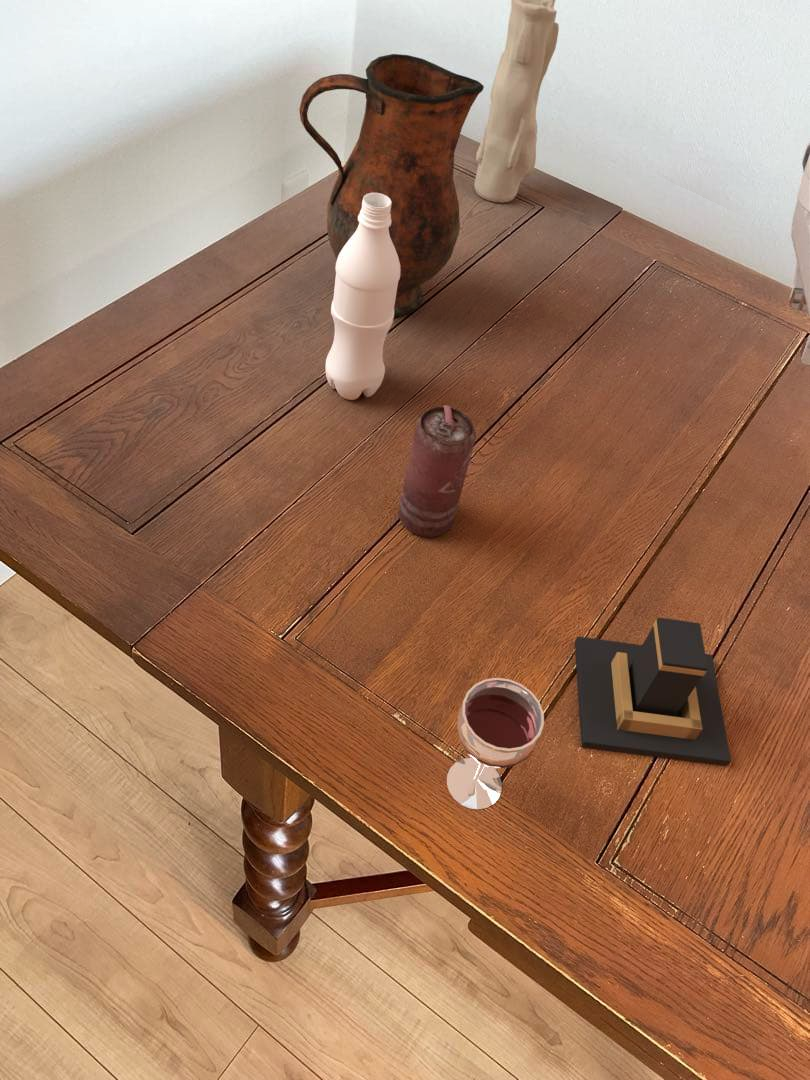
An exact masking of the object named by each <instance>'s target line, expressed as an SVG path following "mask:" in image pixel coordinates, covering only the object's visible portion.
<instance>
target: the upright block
mask: <svg viewBox="0 0 810 1080" xmlns="http://www.w3.org/2000/svg"><path fill="white" fill-rule="evenodd" d="M702 632H703V631H702V625H701V623H700V622H694V621H686V620H679V619H673V618H665V617H657V618H656V619H655V620H654V622H653V624H652V627H651V628H650V630H649V633H648V634H647V636H646V638H645V639H644V641H643V643H642V644H641V645H642V646H641V648H640V650H639V652H638V653H637V655H636V657H635V659H634V660H633V662H632V664H631V666H630V667H629V678H630V688H631V697H632V707H633V711H636V712H643V713H651V714H658V715H666V716H673V717H675V716H676V714H677V713H678V711H679V710H680V709H681V707H682V706H683V704H684V703H685V701H686V700H687V698H688V697H689V695H690V694H691V692H692V691H693V689H694V688H695V687H696V685H697V684H698V682H699V681H700V679H701V678H702V676H704V675H705V673H706V670H707V669H708V667H707V661H706V656H705V654H706V650H705V644H704V639H703V633H702Z"/></svg>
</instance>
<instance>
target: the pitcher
mask: <svg viewBox="0 0 810 1080" xmlns="http://www.w3.org/2000/svg"><path fill="white" fill-rule="evenodd" d="M365 74H366V75H365V76H366V78H365V77H361V76H357V75H353V74H350V73H348V74H347V73H345V74H344V73H336V74H331V75H326V76H323V77H320V78H319V79H317V80H316V81H314V82H312V84H310V86H308V87H307V89H306V90H305V91H304V93H303V94H302V95H301V102H300V105H299V108H298V109H299V118H300V123H301V124H302V126H303V128H304V130H305V131H306V133H307V134H308V135H309V136H310V137H311V138H312V139H313V140H314V142H316V144H318V146H319V147H320V148H321V149H323V150H324V152H325V153H326V154H327V155H328V156H329V158H330V159H331V160H332V161H333V162H334V164H335V165H336V167H337V169H338V176H337V178H336V180H335V182H334V185H333V187H332V190H331V193H330V196H329V200H328V203H327V206H326V207H327V208H326V209H327V211H326V213H327V217H326V219H327V221H326V226H327V227H326V228H327V229H326V230H327V239H328V241H329V244H330V247H331V249H332V252H333V254H334V257H335V260H336V261H337V258H338V256H339V254H340V252H341V250H342V249H343V247H344V246H345V244H346V243H347V242H348V240H349V239H350V238H351V237H352V235H353V234H354V233H355V231H356V230H357V228H358V225H359V221H358V215H359V214H360V211H361V208H362V200H363V198H364V196H365V195H366V194H369V193H380V194H383V195H386V196H387V197H389V198H390V200H391V202H392V204H391V211H390V214H391V225H390V227H389V235H390V238H391V240H392V243H393V245H394V247H395V250H396V252H397V255H398V258H399V262H400V269H401V270H400V279H399V281H398V286H397V292H396V299H395V305H394V318H398V317H403V316H407V315H409V314H411V313H413V312H415V311H416V310H418V309H419V308H420V307H421V306H422V303H423V301H424V294H423V292H422V289H421V287H420V286H421V285H423V284H425V283H427V282H428V281H429V282H430V280H432V279H433V278H434V277H435V276H436V275H437V274H438V273H439V272H440V271H441V270H442V269H443V268H444V267H446V265H447V264H448V262H449V261H450V259H451V257H452V255H453V252H454V249H455V247H456V243H457V241H458V237H459V235H460V228H461V224H460V222H461V221H460V219H461V218H460V202H459V198H458V194H457V189H456V185H455V181H454V168H455V152H456V149H457V145H458V142H459V139H460V136H461V133H462V129H463V126H464V124H465V122H466V119H467V118H468V115H469V113H470V110H471V108H472V106H473V104H474V103H475V101H476V100H477V98H478V97H479V94H481V93H482V92H483V90H484V88H485V86H484V84H482V83H481V82H480V81H478V80H477V79H474V78H471V77H468V76H465V75H461V74H458V73H455V72H452V71H451V70H448V69H446V68H444V67H442V66H440V65H437V64H436V63H434V62H431V61H428V60H426V59H423V58H421V57H417V56H413V55H410V54H399V53H391V54H387V55H381V56H378V57H376V58H375V59H373V60H371V61H370V63H369V64H368V65H367V67H366V68H365ZM336 90H349V91H356V92H359V93H362V94H365V100H366V101H365V107H364V108H365V109H364V115H363V119H362V122H361V127H360V131H359V136H358V139H357V141H356V143H355V145H354V147H353V149H352V151H351V153H350V155H349V157H348V159H347V160H346V162H345V163H344V165H342V161H341V159H340V157H339V154H338V153H337V152H336V150H335V149H334V148H333V147H332V146H331V144H330V143H329V142H328V141H327V140H326V139H325V138H324V137H323V136H322V135H321V134H320V133H319V132H318V131H317V130H316V128H315V127H314V126H313V125H312V123H310V121H309V117H308V113H309V112H308V111H309V106H310V105H311V104H312V102H313V101H314V99H315V98H316V97H318V96H319V95H321V94H323V93H325V92H330V91H336Z"/></svg>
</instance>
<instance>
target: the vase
mask: <svg viewBox="0 0 810 1080" xmlns="http://www.w3.org/2000/svg"><path fill="white" fill-rule="evenodd" d="M555 3H556V0H511V3H510V4H511V7H510V13H509V19H508V25H507V36H506V41H505V47H504V49H503V52H502V53H501V56H500V58H499V62H498V66H497V69H496V72H495V75H494V78H493V82H492V85H491V89H490V95H489V98H490V107H489V113H488V119H487V123H486V124H485V126H484V131H483V135H482V138H481V142H480V144H479V146H478V149H477V151H476V156H475V161H476V162H477V163H478V166H477V170H476V174H475V179H474V191H475V193H476V194H477V195H478V196H479V197H481V198H482V199H485V200H486V201H489V202H494V203H509V202H511V201H512V200H514V199H515V197H517V194H518V192H519V188H520V185H521V182H522V180H523V179H525V178H528V177H530V176H531V175H532V174H533V172H534V169H535V166H536V161H537V160H536V159H537V141H538V140H537V139H538V136H537V135H538V123H537V117H536V115H537V106H538V100H539V96H540V90H541V86H542V83H543V81H544V78H545V76H546V74H547V71H548V68H549V66H550V62H551V61H552V58H553V56H554V53H555V51H556V47H557V42H558V37H559V31H560V28H559V26H560V25H559V23H558V22H556V19H557V12H558V11H557V10H556V9H555V8H554V7H555Z"/></svg>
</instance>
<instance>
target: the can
mask: <svg viewBox="0 0 810 1080" xmlns="http://www.w3.org/2000/svg"><path fill="white" fill-rule="evenodd" d="M476 437H477V433H476V430H475V425H474V423H473V420H472V419H471V418H470V417H469V415H468V414H466V413H465V412H463V411H462V410H459V409H457V408H455V407H451V406H450V405H447V404H445V405H443V406H435V407H431V408H429V409H427V410H426V411H424V412H423V413H422V414H421V416H419V418H418V419H417V421H416V423H415V428H414V432H413V437H412V441H411V446H410V447H411V448H410V452H409V457H408V463H407V467H406V471H405V478H404V482H403V486H402V487H403V488H402V493H401V497H400V502H399V506H398V512H397V513H398V517H399V518H398V519H399V520H400V522H401V523H402V525H403V526H404V527H405V529H407V530H408V531H409V532H410V533H411V534H414V535H416V536H418V537H423V538H436V537H439V536H442V535H443V534H446V532H448V531H449V530H451V528H452V527H453V524H454V521H455V518H456V514H457V510H458V506H459V502H460V499H461V495H462V491H463V487H464V485H465V480H466V477H467V472H468V470H469V466H470V462H471V457H472V454H473V450H474V448H475V447H474V446H475V443H476Z"/></svg>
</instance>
